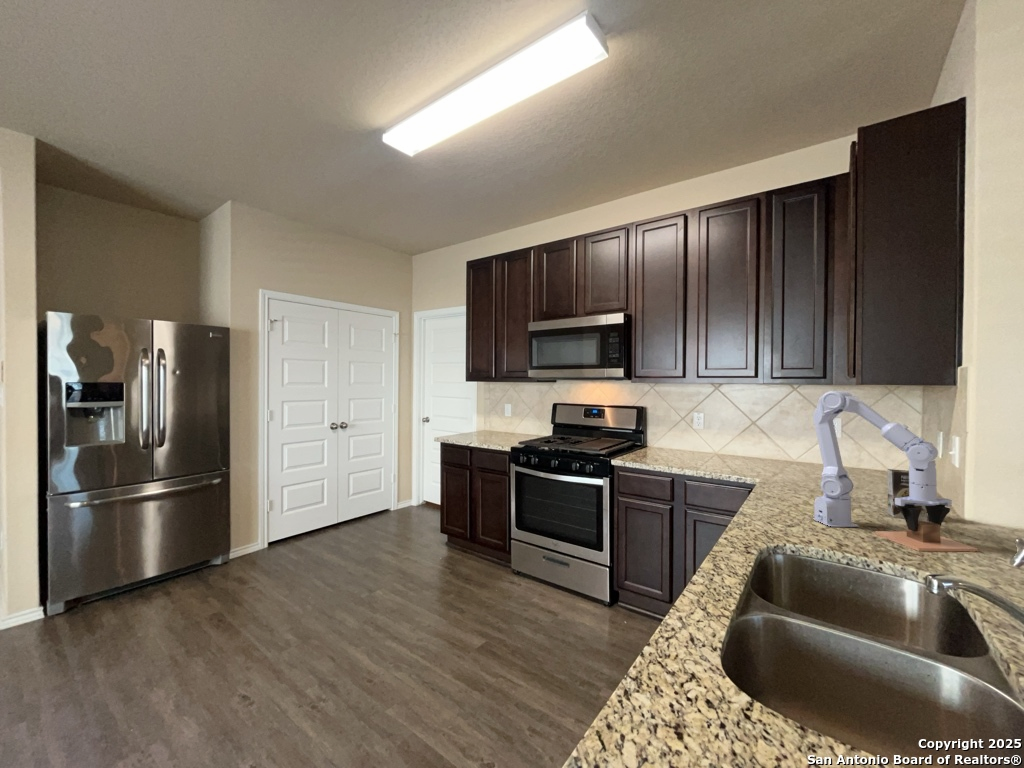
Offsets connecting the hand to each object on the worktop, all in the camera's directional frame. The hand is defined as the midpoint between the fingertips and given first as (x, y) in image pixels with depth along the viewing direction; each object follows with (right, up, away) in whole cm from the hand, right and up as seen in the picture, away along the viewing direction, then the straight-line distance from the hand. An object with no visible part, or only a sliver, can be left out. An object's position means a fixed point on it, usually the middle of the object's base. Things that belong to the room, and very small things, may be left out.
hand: (923, 530), depth 121 cm
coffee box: (+19, -4, +25) cm, 31 cm away
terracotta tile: (0, -3, 0) cm, 3 cm away
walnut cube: (0, -3, 0) cm, 3 cm away
